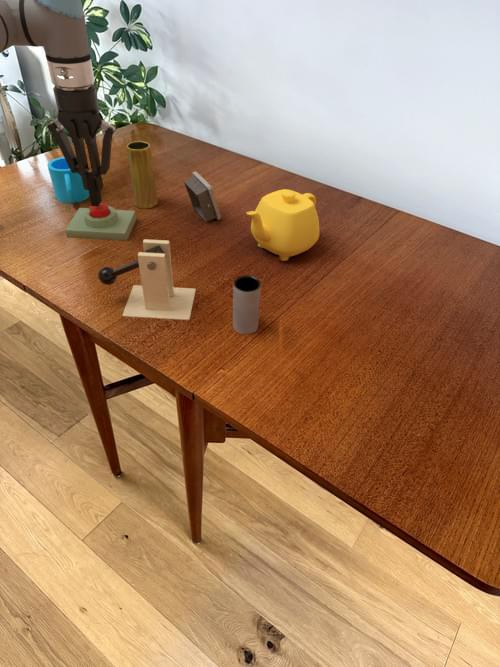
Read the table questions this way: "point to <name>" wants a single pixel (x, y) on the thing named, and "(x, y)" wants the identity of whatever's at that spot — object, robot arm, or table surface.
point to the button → (99, 211)
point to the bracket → (158, 288)
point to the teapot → (285, 223)
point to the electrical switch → (202, 197)
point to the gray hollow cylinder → (246, 304)
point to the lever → (122, 268)
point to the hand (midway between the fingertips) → (96, 203)
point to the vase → (142, 175)
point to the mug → (66, 182)
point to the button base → (102, 225)
